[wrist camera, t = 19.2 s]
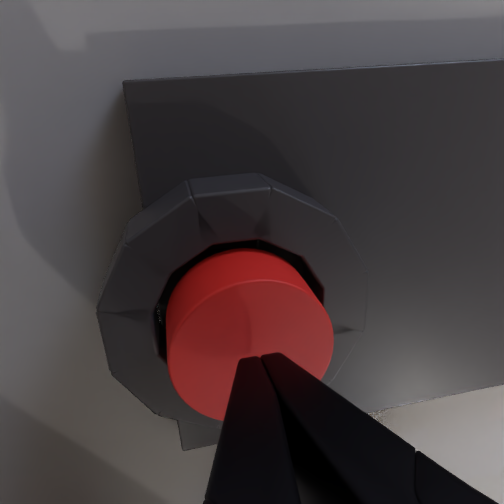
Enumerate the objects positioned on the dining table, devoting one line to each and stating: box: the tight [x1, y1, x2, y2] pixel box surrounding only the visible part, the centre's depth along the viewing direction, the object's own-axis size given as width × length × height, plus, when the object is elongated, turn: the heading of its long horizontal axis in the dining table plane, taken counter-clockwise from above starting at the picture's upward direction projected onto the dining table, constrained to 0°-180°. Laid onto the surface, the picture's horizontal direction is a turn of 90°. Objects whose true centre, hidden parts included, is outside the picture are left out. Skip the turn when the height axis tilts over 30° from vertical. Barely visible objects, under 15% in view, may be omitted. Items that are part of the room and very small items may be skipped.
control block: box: [96, 59, 504, 451], centre depth 12 cm, size 19×11×2 cm, turn 93°
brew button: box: [166, 248, 334, 421], centre depth 10 cm, size 4×4×2 cm
